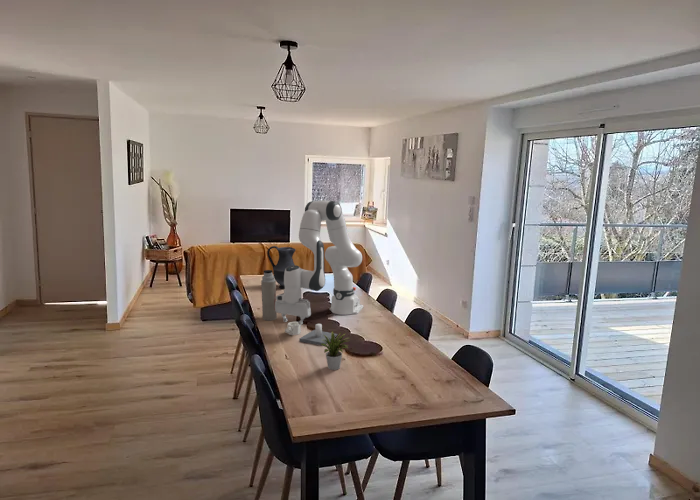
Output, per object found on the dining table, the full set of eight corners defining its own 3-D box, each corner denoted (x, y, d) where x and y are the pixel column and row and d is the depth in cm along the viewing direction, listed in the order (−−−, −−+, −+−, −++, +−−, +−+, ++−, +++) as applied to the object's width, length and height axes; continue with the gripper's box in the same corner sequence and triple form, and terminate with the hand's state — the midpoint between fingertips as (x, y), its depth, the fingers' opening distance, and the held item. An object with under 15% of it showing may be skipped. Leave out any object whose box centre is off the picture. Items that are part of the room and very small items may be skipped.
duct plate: (314, 332, 254) (313, 318, 252) (337, 336, 247) (337, 322, 246) (299, 341, 241) (299, 326, 240) (323, 345, 235) (323, 331, 234)
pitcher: (296, 290, 337) (295, 248, 331) (266, 290, 337) (264, 248, 332) (299, 284, 354) (298, 243, 348) (270, 284, 354) (269, 243, 349)
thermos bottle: (278, 316, 280) (277, 269, 275) (273, 320, 273) (272, 272, 268) (265, 315, 282) (264, 268, 277) (260, 320, 274) (258, 271, 269)
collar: (292, 330, 258) (292, 321, 257) (302, 331, 255) (302, 322, 254) (281, 335, 249) (281, 326, 248) (292, 337, 246) (292, 328, 245)
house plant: (337, 378, 200) (337, 341, 197) (310, 371, 207) (310, 334, 204) (355, 366, 211) (355, 330, 209) (329, 359, 219) (329, 325, 216)
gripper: (313, 298, 248) (313, 324, 250) (280, 293, 257) (280, 318, 259) (306, 301, 242) (306, 327, 245) (273, 296, 251) (273, 321, 254)
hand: (293, 323), depth 252 cm, fingers open, 8 cm apart
